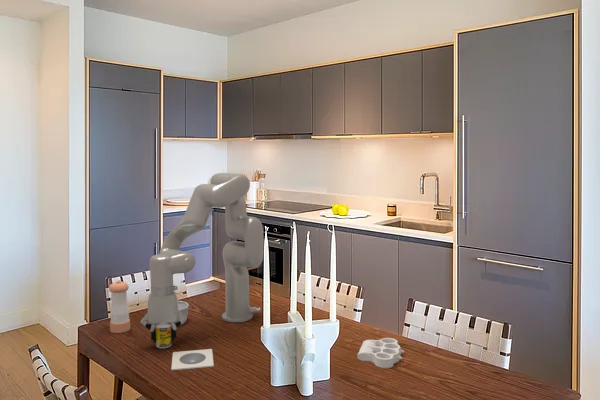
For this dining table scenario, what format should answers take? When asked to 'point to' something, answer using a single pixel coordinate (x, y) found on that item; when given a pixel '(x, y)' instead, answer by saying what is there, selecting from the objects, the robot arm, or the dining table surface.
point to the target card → (192, 359)
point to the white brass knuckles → (381, 352)
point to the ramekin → (183, 309)
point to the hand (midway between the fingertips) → (164, 340)
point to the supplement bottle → (163, 335)
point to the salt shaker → (119, 307)
